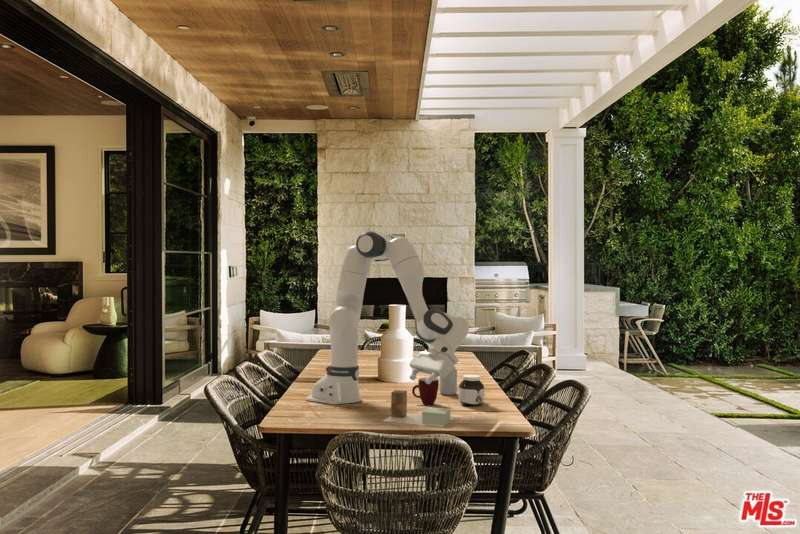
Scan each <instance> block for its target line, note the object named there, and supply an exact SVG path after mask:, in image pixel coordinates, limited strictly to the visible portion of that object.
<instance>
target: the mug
mask: <svg viewBox="0 0 800 534" xmlns="http://www.w3.org/2000/svg"><path fill="white" fill-rule="evenodd" d="M426 378H427V377H421V378H418V384H415V385H414V386H413V387H412V389H411V391H412V392H411V393H412V395H413V396H414V397H415V398H418V399H420V401H421V402H422V404H423V405H424V404H425V405H426V406H433V405H434V403H435V401H436V399H437V396H438V390H439V387H440V379H438V378H436V379H435V380H433V381H432V382H431V383H430V384H427V383H426V382H425V379H426ZM417 388H418V392H419V395H416V392H415V390H416V389H417Z"/></svg>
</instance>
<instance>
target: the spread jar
mask: <svg viewBox="0 0 800 534" xmlns="http://www.w3.org/2000/svg"><path fill="white" fill-rule="evenodd" d="M457 393H458V395H457V397H458V400H459V403H460V404H462V406H464V407H469V406H472V407H471V408H473V406H477V407H479V406H481V405H482V404H484V401H485V385H484V383H483V382H482V381H481V375H479V374H464V375H463V376H462V381H461V382H460V383H459V385H458V387H457Z"/></svg>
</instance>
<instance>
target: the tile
mask: <svg viewBox="0 0 800 534" xmlns="http://www.w3.org/2000/svg"><path fill="white" fill-rule="evenodd" d="M453 419H454V417H452V416H450V421H452V420H453ZM382 422H388V423H389V422H390V423H397V424H398V423H399V424H400V423H401V424H410V425H419V426H420V425H421V426H429V427H431V426H432V427H441V428H443V427H444V426H446V424H445V425H435V424H424V423H422V413H421V414H420V413H408V412H407V416H405V417H404V418H395V417H391V415H390V416H388V417H386V418H385V419H383V420H382Z"/></svg>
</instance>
